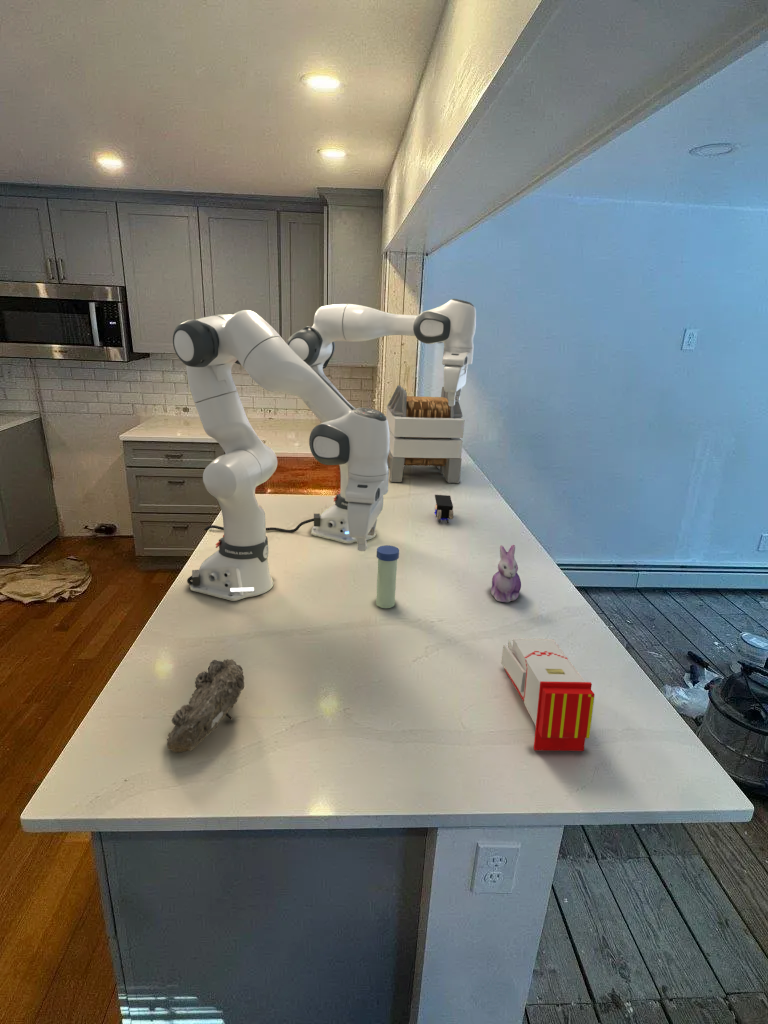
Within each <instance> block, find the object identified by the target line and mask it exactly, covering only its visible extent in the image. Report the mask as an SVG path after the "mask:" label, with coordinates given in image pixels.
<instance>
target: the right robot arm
mask: <svg viewBox="0 0 768 1024" xmlns="http://www.w3.org/2000/svg"><path fill="white" fill-rule="evenodd" d="M476 327H477V309H476V306H475V305H474V304H473V303H472V302H470V301H467V300H463V299H458V298H451V299H450V300H448V301H447V302H445V303H444V304H441V305H439V306H437V307H435V308H431V309H427V310H424V311H422V312H421V313H419V314H399V313H391V312H386V311H383V310H380V309H377V308H374V307H370V306H366V305H361V304H355V303H335V304H327V305H322V306H320V307H318V308H317V309H316V311H315V313H314V317H313V325H312V326H310V325H306V326H305V327H303V328H301V329H299V330H298V331H295V333H293V334H292V335H291V336H290V337H289V338H288V339H287V340H286V343H287V345H288V346H289V347H290V348H291V349H292V350H293V351H294V352H295V353H296V354H297V355H298V356H299V357H300V358H301V359H302V360H303V361H304V362H305V363H307V364H308V365H309V366H310V367H311V368H313V369H314V370H315V371H316V372H317V373H319V374H320V375H321V376H322V377H323V378H324V379H325V380H326V381H327V382H328V383H329V384H330V385H331V386H332V387H333V388H334V389H335V390H336V391H337V392H338V393H339V394H340V395H341V396H342V397H343V399H344V400H345V401H346V402H347V403H348V404H349V405H350V406H352V407H353V408H354V409H356V407H355V406H353V404H352V403H350V402H349V400H347V399H346V398H345V397H344V396H343V394H342V393H341V392H340V391H339V389H338V388H337V387H336V386H335V385H334V384H333V382H332V381H331V380H330V379H329V378H328V377H327V376H326V374H325V372H324V369H326V368H327V366H328V365H329V362H330V360H331V359H332V357H333V356H334V352H335V350H336V343H335V342H353V343H356V342H366V341H371V340H376V339H378V338H384V337H388V336H409V337H415V338H416V339H417V340H418V341H420V343H423V344H426V345H434V344H435V345H436V344H443V354H442V362H441V363H442V365H443V387H444V390H445V392H448V400H449V401H448V405H449V406H454V405H455V402H460V400H461V393H462V390H463V388H464V387H465V386H466V383H467V373H468V368H469V365H473V360H474V359H473V358H474V347H475V345H474V337H475V334H476ZM300 399H301V400H302V401H303V403H304V404H305V405H306V407H307V408H308V409H309V410H310V411H311V412H312V413H313V415H314V416H315V417H316V418H317V419H318V420H319V422H320V424H321V423H324V422H327V421H328V420H327V419H326V418H325V417H324V416H323V415H322V414H321V413H320V412H319V411H318V410H317V409H316V408H315V407H314V405H312V404H311V403H310V402H309V401H307V400H305V399H303V398H300ZM338 466H339V473H340V488H339V489H340V490H339V491H338V492H337V494H336V495H335V496H334V497H333V502H334V504H333V505H331V506H329V507H328V508H326V509H325V510H323V512H321V514H320V513H313V518H310V519H306V520H304V521H301V522H300V523H298V525H297V526H296V527H295V528H293V529H292V528H291V529H284V528H281V527H272V526H271V527H266V532H267V531H276V532H282V533H295V532H297V531H298V530H299V529H300V528H301V527H302V526H304V525H306V524H309V523H312V522H313V526H312V528H311V530H310V533H311V536H315V537H319V538H323V539H326V540H330V541H336V542H339V543H343V544H352V543H357V539H356V538H353V537H351V536H350V534H349V530H348V512H347V508H348V501H345V492H346V489H347V486H348V466H347V465H345V464H341V465H338ZM210 529H216V530H220V531H224V526H220V525H214V524H211V525H208V526H206V527H205V528H204V529H203V531H209V530H210ZM376 535H377V532H376V531H375V534H374V535H373V536H371V535H367V537H366V541H368V540H372V539H373V538H375V537H376Z"/></svg>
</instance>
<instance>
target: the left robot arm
mask: <svg viewBox="0 0 768 1024" xmlns="http://www.w3.org/2000/svg"><path fill="white" fill-rule="evenodd" d="M172 346H173V349H174V352H175V354H176V356H177V358H178V359H179V360H180V361H181V363H183V364H184V365H185V370H186V375H187V381H188V387H189V391H190V393H191V397H192V400H193V403H194V406H195V409H196V411H197V413H198V414H197V415H198V416H199V419H200V422H201V425H202V428H203V430H204V432H205V434H206V435H207V436H209V437H210V438H212V439H214V440H215V441H216V442H217V443H218V444H219V446H220V447H221V448H222V450H223V452H224V454H222V455H219V456H217V457H216V458H215V459H213V460H212V461H211V462H210V463H209V464H208V465H207V466H205V468H204V470H203V473H202V483H203V486H204V488H205V489H206V491H207V492H208V493H209V494H210V495H211V496H212V497H213V498H215V499H216V500H217V503H218V505H219V507H220V508H219V509H220V511H221V516H222V525H223V526H222V527H224V530H223V535H222V537H221V538H220V539H218V542H216V543H215V548H216V549H217V548H218V550H216V551H215V552H213V553H212V554H211V555H210V556H208V557H207V558H205V559H204V560H203V562H201V564H200V566H199V569H192V570H191V575H190V576H188V578H187V579H186V583H187V584H188V585H189V589H190V591H193V592H195V593H196V592H197V593H200V594H204V595H208V596H212V597H216V598H220V599H223V600H228V601H231V602H237V601H240V600H243V599H245V598H246V599H247V598H251V597H257V596H260V595H263V594H265V593H267V592H269V591H270V590H271V589H272V588H273V586H274V580H273V578H272V574H271V571H270V565H269V559H268V558H269V541H268V540H269V539H268V536H267V531H266V528H267V527H266V525H267V523H266V522H267V521H266V520H267V519H266V511H265V509H264V508H263V507H262V506H261V505H259V502H258V500H257V497H256V488H257V487H258V486H260V485H262V484H264V483H266V482H267V481H268V480H270V478H271V477H272V476H273V475H274V474H275V472H276V470H277V467H278V458H277V457H278V456H277V454H276V452H275V451H274V449H273V448H271V447H270V446H269V445H267V444H266V443H264V442H263V441H262V439H261V438H260V436H259V435H258V434H257V432H256V431H255V429H254V428H253V426H252V424H251V422H250V421H249V419H248V416H247V413H246V411H245V408H244V405H243V403H242V399H241V397H240V393H239V392H238V389H237V386H236V383H235V380H234V377H233V373H232V368H233V366H234V364H237V365H241V366H242V368H243V369H244V371H245V372H246V373H247V374H248V375H249V377H250V378H251V380H253V381H254V382H255V383H256V384H257V385H258V386H260V387H261V388H262V389H263V390H266V391H267V392H271V393H278V394H285V395H290V396H293V397H298V398H300V399H301V398H303V399H305V400H307V401H309V402H310V403H311V404H312V405H314V407H315V408H316V409H317V410H318V411H319V412H320V413H321V414H322V415H323V416H324V417H325V418H326V419H327V420H328V421H327V422H324V423H321V422H320V423H319V424H317V425H316V426H314V427H312V429H311V431H310V434H309V437H308V444H309V450H310V452H311V454H312V456H313V458H314V459H315V460H316V461H317V462H318V463H320V464H322V465H325V466H339V465H341V464H345V465H347V466H348V486H347V489H346V492H345V501H348V508H347V512H348V530H349V534H350V536H351V537H353V538H356V539H357V542H356V543H357V551H359V552H366V550H367V548H368V541H367V540H366V537H367V535H371V536H373V535H374V534H375V532H376V527H377V522H378V518H379V517H380V515H381V513H382V511H383V508H384V496H385V495H387V494H388V492H389V475H390V468H389V467H388V465H387V458H388V455H389V448H390V437H389V424H388V420H387V418H386V415H385V413H383V412H382V411H380V410H377V409H374V408H370V407H357V408H356V407H355V408H356V409H354V408H353V407H354V406H353V405H352V406H353V407H352V406H350V405H349V404H348V403H347V402H346V401H345V400H344V399H343V397H344V396H343V397H342V396H341V395H340V394H339V393H338V392H337V391H336V390H335V389H334V388H333V387H332V386H331V385H330V384H329V383H328V382H327V381H326V380H325V379H324V378H323V377H322V376H321V375H320V374H319V373H317V372H316V371H315V370H314V369H313V368H311V367H310V366H309V365H308V364H307V363H305V362H304V361H303V360H302V359H301V358H300V357H299V356H298V355H297V354H296V353H295V352H294V351H293V350H292V349H291V348H290V347H289V346H288V345H287V341H285V340H284V339H283V338H282V337H281V335H280V334H279V332H278V331H277V330H275V328H274V327H273V326H272V325H271V324H269V323H268V321H266V320H265V319H264V318H263V317H262V316H261V315H260V314H258V313H257V312H256V311H253V310H250V309H243V310H239V311H236V312H234V313H225V314H224V313H223V314H212V315H209V316H204V317H200V318H197V319H188V320H186V321H183V322H180V324H178V325H177V326H176V327H175V328H174V331H173V336H172Z"/></svg>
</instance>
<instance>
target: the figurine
mask: <svg viewBox="0 0 768 1024" xmlns="http://www.w3.org/2000/svg"><path fill="white" fill-rule="evenodd" d="M515 552H516V545H515V544H512V545H510V547H509V549H508V551H507V550H506V548H505V547H504V546H503V545H500V546H499V562H498V564H497V570H498V571H497V572H495V573H494V574H493V576H492V579H491V588H490V593H491V596H492V597H493V598H494V600H496V601H497V602H501V603H510V602H511V601H512V602H514V601H516V600H517V599H518V598H519V596H520V592H521V590H522V581H521V578H520V575H519V574H518V571H519V565H518V563H517V560H516V559H515Z"/></svg>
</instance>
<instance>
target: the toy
mask: <svg viewBox="0 0 768 1024" xmlns="http://www.w3.org/2000/svg"><path fill="white" fill-rule="evenodd" d="M500 661H501V662H500V663H501V664H502V666H503V668H504V671H505V673H506V674H507V676H508V678H509V679H510V681H511V684H512V685H513V686H514V688H515V691H517V693H518V695H519V696H520V699H521V700H522V702H523V704H524V706H525V708H526V711H527V712H528V714H529V716H530V718H531V720H532V723H533V724H534V726H535V731H534V741H533V750H534V751H554V752H555V751H556V752H557V751H558V752H564V751H565V752H584V751H585V743H586V739H590V737H591V736H590V735H591V727H592V718H593V710H594V702H595V692H593V690H592V685H593V684H592V682H590V681H585V679H584V678H583V676H582V675H581V674H580V673H579V672H578V670H577V669H576V668H575V666H574V665H573V663H572V662H571V661H570V659H569V658H568V657H567V655H566V654H565V653H564V651H563V650H562V649H561V648H560V646H559V644H558V643H557V642H556V640H554V638H517V637H515V638H512V639H508V643H507V644H503V647H502V653H501V660H500Z"/></svg>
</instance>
